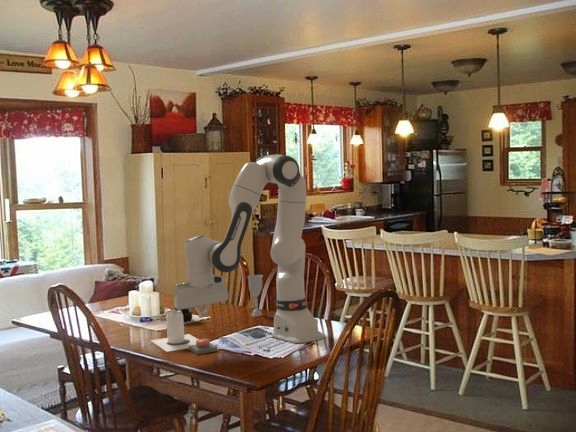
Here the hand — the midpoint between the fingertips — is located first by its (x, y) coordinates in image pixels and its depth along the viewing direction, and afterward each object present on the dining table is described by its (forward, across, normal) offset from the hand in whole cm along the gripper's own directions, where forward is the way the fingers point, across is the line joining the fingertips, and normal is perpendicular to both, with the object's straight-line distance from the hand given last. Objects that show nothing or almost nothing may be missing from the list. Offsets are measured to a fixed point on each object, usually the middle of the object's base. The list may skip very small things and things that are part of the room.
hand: (203, 317), depth 234 cm
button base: (+12, -1, 0) cm, 12 cm away
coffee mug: (+12, +12, +52) cm, 55 cm away
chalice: (+13, +41, +40) cm, 59 cm away
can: (+12, -6, +17) cm, 21 cm away
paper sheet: (+12, -5, +16) cm, 21 cm away
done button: (+10, -1, 0) cm, 10 cm away
